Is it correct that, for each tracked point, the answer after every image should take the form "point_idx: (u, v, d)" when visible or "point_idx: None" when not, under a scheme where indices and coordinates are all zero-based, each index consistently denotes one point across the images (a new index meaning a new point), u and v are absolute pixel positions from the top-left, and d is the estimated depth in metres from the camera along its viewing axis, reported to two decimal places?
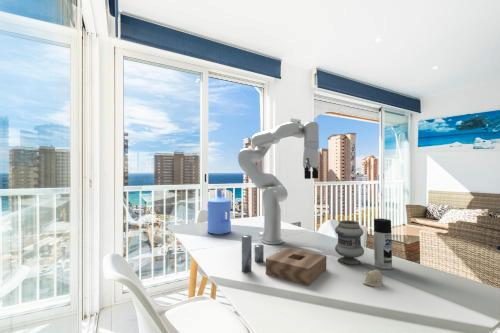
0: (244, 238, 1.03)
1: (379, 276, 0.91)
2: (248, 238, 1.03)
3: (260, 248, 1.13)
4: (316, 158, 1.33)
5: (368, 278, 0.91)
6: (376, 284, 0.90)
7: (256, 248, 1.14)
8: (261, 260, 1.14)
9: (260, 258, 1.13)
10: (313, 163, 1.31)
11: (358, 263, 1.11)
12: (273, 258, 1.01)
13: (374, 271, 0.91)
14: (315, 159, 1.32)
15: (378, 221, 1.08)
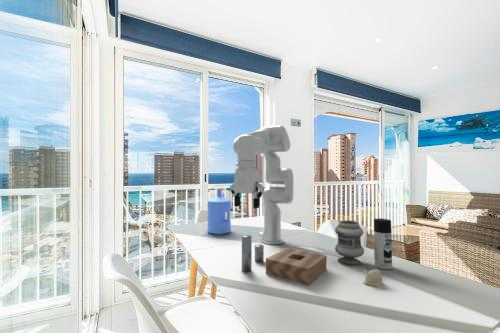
0: (244, 238, 1.03)
1: (379, 276, 0.91)
2: (248, 238, 1.03)
3: (260, 248, 1.13)
4: None
5: (368, 278, 0.91)
6: (376, 284, 0.91)
7: (256, 248, 1.14)
8: (261, 260, 1.14)
9: (260, 258, 1.13)
10: None
11: (358, 263, 1.11)
12: (273, 258, 1.01)
13: (374, 271, 0.91)
14: None
15: (378, 221, 1.08)
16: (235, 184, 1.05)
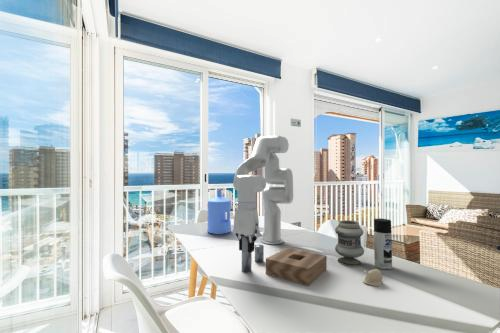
0: (244, 238, 1.03)
1: (379, 275, 0.91)
2: (248, 238, 1.03)
3: (260, 248, 1.13)
4: None
5: (368, 277, 0.92)
6: (376, 283, 0.91)
7: (256, 248, 1.14)
8: (261, 260, 1.14)
9: (260, 258, 1.13)
10: None
11: (358, 263, 1.11)
12: (273, 258, 1.01)
13: (374, 270, 0.92)
14: None
15: (378, 221, 1.08)
16: (235, 224, 1.05)
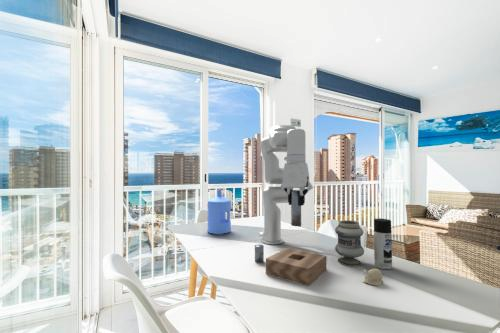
0: (294, 192, 1.02)
1: (379, 275, 0.92)
2: (299, 192, 1.02)
3: (260, 248, 1.13)
4: None
5: (368, 276, 0.92)
6: (376, 283, 0.91)
7: (256, 248, 1.14)
8: (261, 260, 1.14)
9: (260, 258, 1.13)
10: None
11: (358, 263, 1.11)
12: (273, 258, 1.01)
13: (374, 270, 0.92)
14: None
15: (378, 221, 1.08)
16: (284, 179, 1.04)
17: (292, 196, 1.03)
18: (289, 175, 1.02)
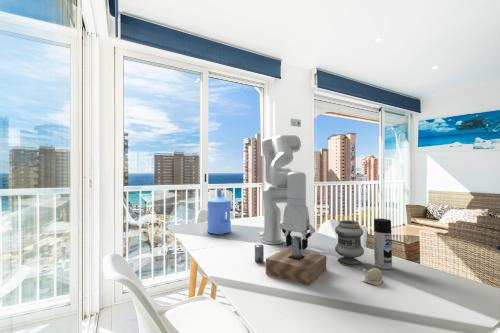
0: (294, 239, 1.02)
1: (379, 274, 0.92)
2: (299, 239, 1.02)
3: (260, 248, 1.13)
4: None
5: (367, 276, 0.93)
6: (375, 282, 0.92)
7: (256, 248, 1.14)
8: (261, 260, 1.14)
9: (260, 258, 1.13)
10: None
11: (358, 263, 1.11)
12: (273, 258, 1.01)
13: (374, 269, 0.93)
14: None
15: (378, 221, 1.08)
16: (285, 222, 1.04)
17: (292, 243, 1.02)
18: (289, 218, 1.02)
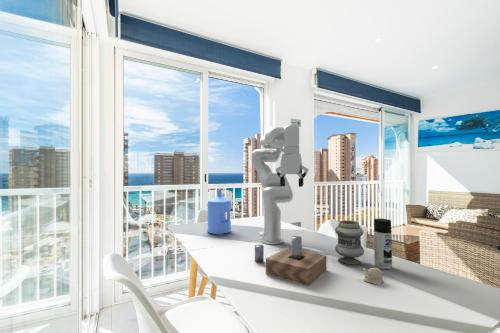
0: (295, 239, 1.02)
1: (379, 274, 0.93)
2: (299, 239, 1.02)
3: (260, 248, 1.13)
4: None
5: (367, 275, 0.93)
6: (375, 281, 0.93)
7: (256, 248, 1.14)
8: (261, 260, 1.14)
9: (260, 258, 1.13)
10: None
11: (358, 263, 1.11)
12: (273, 258, 1.01)
13: (374, 269, 0.93)
14: None
15: (378, 221, 1.08)
16: (282, 167, 1.24)
17: (292, 243, 1.02)
18: (285, 164, 1.23)
